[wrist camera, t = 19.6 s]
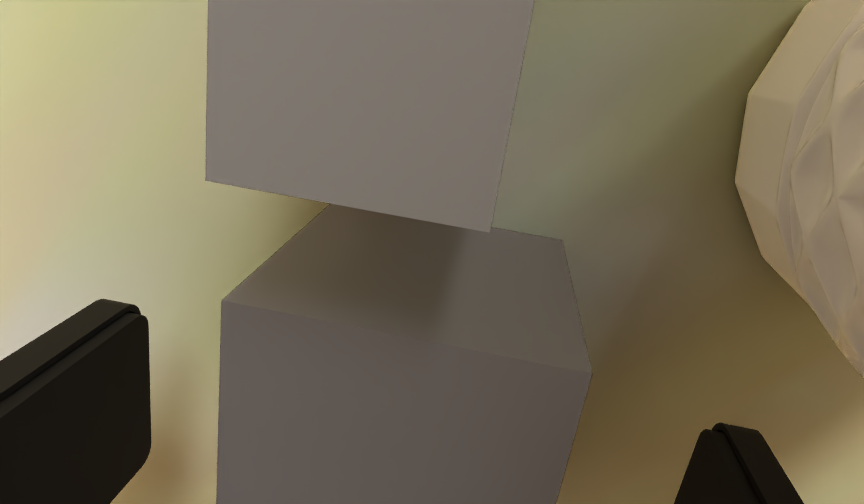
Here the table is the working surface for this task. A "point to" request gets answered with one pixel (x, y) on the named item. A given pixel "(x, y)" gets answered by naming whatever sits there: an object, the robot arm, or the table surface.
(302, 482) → the grey rectangular block
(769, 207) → the white cup
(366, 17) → the block
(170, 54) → the table surface
